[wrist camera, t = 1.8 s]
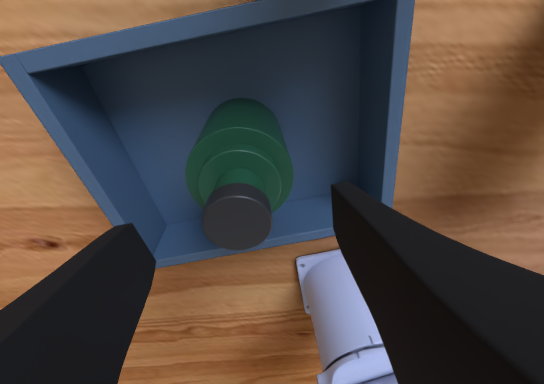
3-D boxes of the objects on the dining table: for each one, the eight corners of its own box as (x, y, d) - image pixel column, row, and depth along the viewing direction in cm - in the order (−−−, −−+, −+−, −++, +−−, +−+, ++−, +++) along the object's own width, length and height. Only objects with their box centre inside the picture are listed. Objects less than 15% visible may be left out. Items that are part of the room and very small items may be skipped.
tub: (371, -15, 14) (419, -35, 10) (364, 190, 21) (390, 225, 17) (65, 51, 14) (-5, 57, 10) (163, 228, 21) (144, 271, 18)
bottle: (286, 163, 18) (313, 261, 10) (217, 177, 18) (193, 282, 10) (274, 90, 15) (299, 146, 8) (193, 106, 16) (135, 178, 8)
